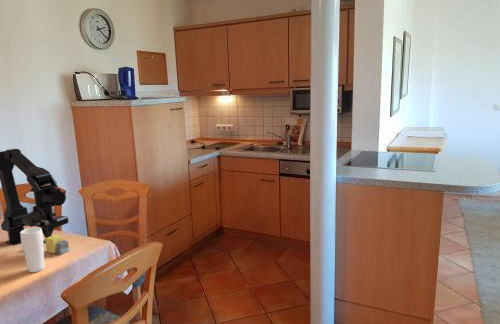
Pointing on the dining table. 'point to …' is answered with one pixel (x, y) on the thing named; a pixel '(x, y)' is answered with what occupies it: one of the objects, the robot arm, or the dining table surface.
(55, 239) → the sleeve
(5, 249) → the dining table surface
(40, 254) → the drinking glass
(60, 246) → the cord fixture
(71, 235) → the dining table surface
